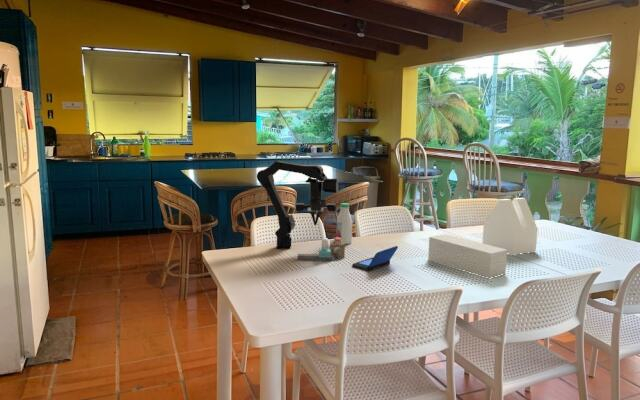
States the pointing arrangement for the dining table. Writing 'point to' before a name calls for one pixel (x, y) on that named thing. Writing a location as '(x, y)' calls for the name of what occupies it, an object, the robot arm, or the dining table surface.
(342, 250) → the cabinet
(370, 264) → the handheld game console
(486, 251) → the beige long block
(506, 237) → the beige tapered block
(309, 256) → the rail
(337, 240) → the plunger
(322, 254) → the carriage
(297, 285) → the dining table surface
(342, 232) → the milk bottle
